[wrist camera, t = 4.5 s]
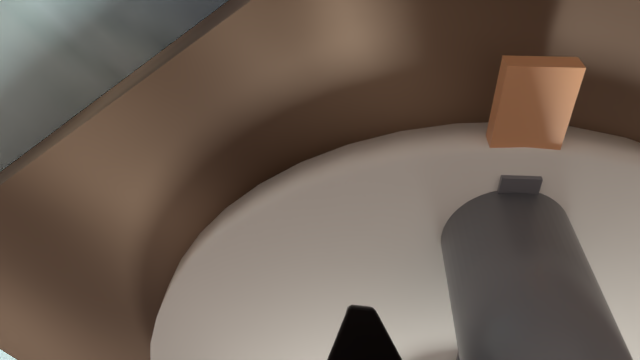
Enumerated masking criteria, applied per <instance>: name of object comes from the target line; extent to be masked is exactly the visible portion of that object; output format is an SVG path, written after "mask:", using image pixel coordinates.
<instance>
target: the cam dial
mask: <svg viewBox="0 0 640 360" xmlns="http://www.w3.org/2000/svg"><path fill="white" fill-rule="evenodd" d="M585 70H586V67H585V66H584V64H583V63H582V62H581V60H580V59H579V58H578V57H554V56H506V55H502V60H501V65H500V70H499V74H498V79H497V84H496V89H495V94H494V98H493V103H492V108H491V113H490V117H489V122H486V123H456V124H448V125H441V126H434V127H426V128H419V129H412V130H405V131H399V132H395V133H391V134H387V135H383V136H379V137H375V138H371V139H367V140H363V141H359V142H355V143H351V144H348V145H345V146H342V147H340V148H337V149H334V150H332V151H329V152H326V153H324V154H321V155H318V156H316V157H313V158H311V159H308V160H305V161H303V162H300V163H298V164H296V165H295V166H293V167H291V168H289V169H287V170H285V171H283V172H281V173H279V174H277V175H275V176H274V177H272V178H270V179H268V180H266V181H264V182H262V183H260V184H259V185H257V186H256V187H255V188H253V189H252V190H250V191H249V192H248V193H246V194H245V195H243V196H242V197H241V198H239V199H238V200H236V201H235V202H234V203H232V204H231V205H229V206H228V207H227V208H225V209H224V210H223V211H222V212H221V213H220V214H219V215H218V216H217V217H216V218H215V219H214V220H213V221H212V222H211V223H210V224H209V225H208V226H207V227H206V228H205V229H204V230H203V231H202V232H201V233H200V234H199V235H198V237H197V238H196V239H195V241H194V242H193V244H192V245H191V246H190V248H189V249H188V250H187V252H186V253H185V254H184V256H183V257H182V259H181V260H180V262H179V265H178V267H177V269H176V271H175V273H174V275H173V277H172V279H171V281H170V284H169V286H168V288H167V291H166V294H165V296H164V299H163V302H162V304H161V307H160V310H159V312H158V315H157V318H156V322H155V326H154V330H153V335H152V339H151V343H150V360H327V359H328V356H329V354H330V351H331V349H332V346H333V344H334V341H335V339H336V336H337V334H338V331H339V329H340V326H341V324H342V321H343V319H344V316H345V314H346V310H347V307H348V306H349V305H361V306H370V307H373V308H374V309H375V310H376V312H377V313H378V315H379V317H380V319H381V321H382V323H383V325H384V327H385V328H386V330H387V332H388V334H389V336H390V338H391V340H392V342H393V343H394V345H395V347H396V349H397V351H398V353H399V355H400V357H401V358H402V360H640V143H639V142H637V141H634V140H631V139H628V138H625V137H620V136H615V135H610V134H606V133H601V132H596V131H591V130H586V129H581V128H576V127H571V126H568V124H569V121H570V118H571V115H572V111H573V108H574V105H575V102H576V99H577V96H578V92H579V89H580V86H581V83H582V80H583V76H584V73H585Z"/></svg>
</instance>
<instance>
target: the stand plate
mask: <svg viewBox="0 0 640 360" xmlns="http://www.w3.org/2000/svg"><path fill="white" fill-rule="evenodd" d="M502 55H506V56H554V57H578V58H579V59H580V60H581V62H582V63H583V64H584V66H585V67H586V70H585V73H584V76H583V80H582V83H581V86H580V89H579V92H578V96H577V99H576V102H575V105H574V108H573V111H572V115H571V118H570V121H569V124H568V126H571V127H576V128H581V129H586V130H591V131H596V132H601V133H606V134H610V135H615V136H620V137H625V138H628V139H631V140H634V141H637V142H639V143H640V0H229V1H227V2H226V3H225V4H223V5H222V6H221V7H219V8H218V9H217V10H215V11H214V12H213V13H211V14H210V15H209V16H207V17H206V18H205V19H203V20H202V21H201V22H199V23H198V24H197V25H195V26H194V27H193V28H191V29H190V30H189V31H187V32H186V33H185V34H183V35H182V36H181V37H179V38H178V39H177V40H175V41H174V42H173V43H171V44H170V45H169V46H167V47H166V48H165V49H163V50H162V51H161V52H159V53H158V54H157V55H155V56H154V57H153V58H151V59H150V60H149V61H147V62H146V63H145V64H143V65H142V66H141V67H139V68H138V69H137V70H135V71H134V72H133V73H131V74H130V75H129V76H127V77H126V78H125V79H123V80H122V81H121V82H119V83H118V84H117V85H115V86H114V87H113V88H111V89H110V90H109V91H107V92H106V93H105V94H104V95H102V96H101V97H100V98H98V99H97V100H96V101H94V102H93V103H92V104H90V105H89V106H88V107H86V108H85V109H84V110H82V111H81V112H80V113H78V114H77V115H76V116H74V117H73V118H72V119H70V120H69V121H68V122H66V123H65V124H64V125H62V126H61V127H60V128H58V129H57V130H56V131H54V132H53V133H52V134H50V135H49V136H48V137H46V138H45V139H44V140H42V141H41V142H40V143H38V144H37V145H36V146H34V147H33V148H32V149H30V150H29V151H28V152H26V153H25V154H24V155H22V156H21V157H20V158H18V159H17V160H16V161H14V162H13V163H12V164H10V165H9V166H8V167H6V168H5V169H4V170H2V171H1V172H0V349H1V350H3V351H4V352H6V353H7V354H9V355H11V356H12V357H14V358H16V359H17V360H150V343H151V339H152V335H153V330H154V326H155V322H156V318H157V315H158V312H159V310H160V307H161V304H162V302H163V299H164V296H165V294H166V291H167V288H168V286H169V284H170V281H171V279H172V277H173V275H174V273H175V271H176V269H177V267H178V265H179V262H180V260H181V259H182V257H183V256H184V254H185V253H186V252H187V250H188V249H189V248H190V246H191V245H192V244H193V242H194V241H195V239H196V238H197V237H198V235H199V234H200V233H201V232H202V231H203V230H204V229H205V228H206V227H207V226H208V225H209V224H210V223H211V222H212V221H213V220H214V219H215V218H216V217H217V216H218V215H219V214H220V213H221V212H222V211H223V210H224V209H225V208H227V207H228V206H229V205H231V204H232V203H234V202H235V201H236V200H238V199H239V198H241V197H242V196H243V195H245V194H246V193H248V192H249V191H250V190H252V189H253V188H255V187H256V186H257V185H259V184H260V183H262V182H264V181H266V180H268V179H270V178H272V177H274V176H275V175H277V174H279V173H281V172H283V171H285V170H287V169H289V168H291V167H293V166H295V165H296V164H298V163H300V162H303V161H305V160H308V159H311V158H313V157H316V156H318V155H321V154H324V153H326V152H329V151H332V150H334V149H337V148H340V147H342V146H345V145H348V144H351V143H355V142H359V141H363V140H367V139H371V138H375V137H379V136H383V135H387V134H391V133H395V132H399V131H405V130H412V129H419V128H426V127H434V126H441V125H448V124H456V123H486V122H489V117H490V113H491V108H492V103H493V98H494V94H495V89H496V84H497V79H498V74H499V70H500V65H501V60H502Z"/></svg>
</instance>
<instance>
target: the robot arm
mask: <svg viewBox="0 0 640 360" xmlns="http://www.w3.org/2000/svg"><path fill="white" fill-rule="evenodd" d="M327 360H402V358H401V357H400V355H399V353H398V351H397V349H396V347H395V345H394V343H393V342H392V340H391V338H390V336H389V334H388V332H387V330H386V328H385V327H384V325H383V323H382V321H381V319H380V317H379V315H378V313H377V312H376V310H375V309H374V308H373V307H370V306H361V305H349V306H348V307H347V310H346V314H345V316H344V319H343V321H342V324H341V326H340V329H339V331H338V334H337V336H336V339H335V341H334V344H333V346H332V349H331V351H330V354H329V356H328V359H327Z"/></svg>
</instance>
